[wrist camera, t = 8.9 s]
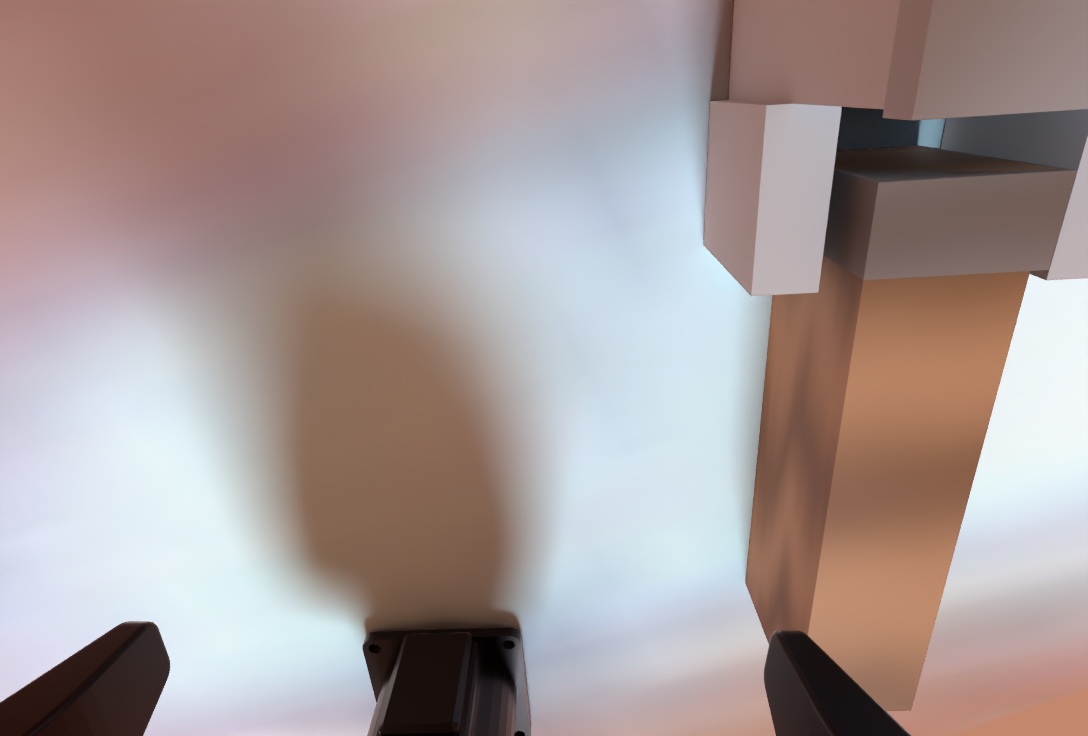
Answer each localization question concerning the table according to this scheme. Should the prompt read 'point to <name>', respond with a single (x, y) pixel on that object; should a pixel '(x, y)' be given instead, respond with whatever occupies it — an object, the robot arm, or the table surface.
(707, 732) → the table surface
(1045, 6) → the grey block with legs
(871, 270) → the rail
